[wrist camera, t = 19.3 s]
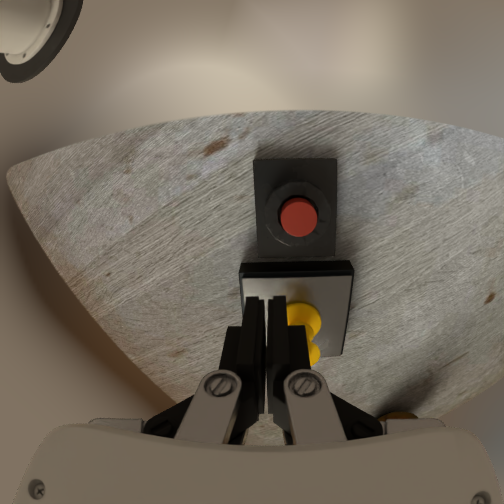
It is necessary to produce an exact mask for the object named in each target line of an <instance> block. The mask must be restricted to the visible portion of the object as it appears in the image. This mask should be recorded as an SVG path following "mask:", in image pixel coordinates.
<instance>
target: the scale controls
mask: <svg viewBox="0 0 504 504" xmlns="http://www.w3.org/2000/svg"><path fill="white" fill-rule="evenodd" d="M253 173H254V190H255V208H256V226H257V244H258V258H282V257H325V256H335V242H336V218H337V159H335V158H279V159H254V160H253ZM297 197H299V198H304V199H306V200H308V201H309V202H310V203H311V204H312V205H313V207H314V209H315V211H316V214H317V224H316V226H315V228H314V230H313V231H312V232H311V233H309V234H308V235H305V236H301V237H297V236H293V235H290V234H289V233H287V232H286V231H285V230H284V228H283V226H282V224H281V209H282V207H283V205H284V204H285V203H286V202H287V201H288V200H290V199H292V198H297Z"/></svg>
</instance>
